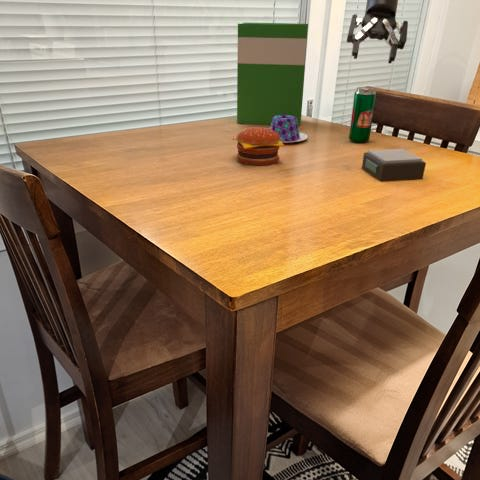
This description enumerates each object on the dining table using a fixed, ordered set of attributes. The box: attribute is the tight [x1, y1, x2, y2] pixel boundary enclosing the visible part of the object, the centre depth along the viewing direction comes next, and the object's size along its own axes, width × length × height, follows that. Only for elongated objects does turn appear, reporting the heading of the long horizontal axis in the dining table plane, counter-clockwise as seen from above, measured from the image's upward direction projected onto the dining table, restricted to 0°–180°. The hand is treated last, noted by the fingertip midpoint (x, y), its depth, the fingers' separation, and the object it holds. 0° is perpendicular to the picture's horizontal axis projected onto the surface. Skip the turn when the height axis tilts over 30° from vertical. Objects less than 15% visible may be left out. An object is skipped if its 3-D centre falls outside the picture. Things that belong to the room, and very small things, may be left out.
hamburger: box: [232, 126, 285, 166], centre depth 106 cm, size 9×10×7 cm
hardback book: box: [236, 21, 309, 127], centre depth 134 cm, size 18×7×24 cm, turn 82°
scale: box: [361, 148, 427, 182], centre depth 100 cm, size 9×9×4 cm
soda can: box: [348, 86, 377, 144], centre depth 120 cm, size 5×5×12 cm
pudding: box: [269, 115, 309, 144], centre depth 122 cm, size 12×12×5 cm
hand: (373, 59), depth 122 cm, fingers open, 8 cm apart
